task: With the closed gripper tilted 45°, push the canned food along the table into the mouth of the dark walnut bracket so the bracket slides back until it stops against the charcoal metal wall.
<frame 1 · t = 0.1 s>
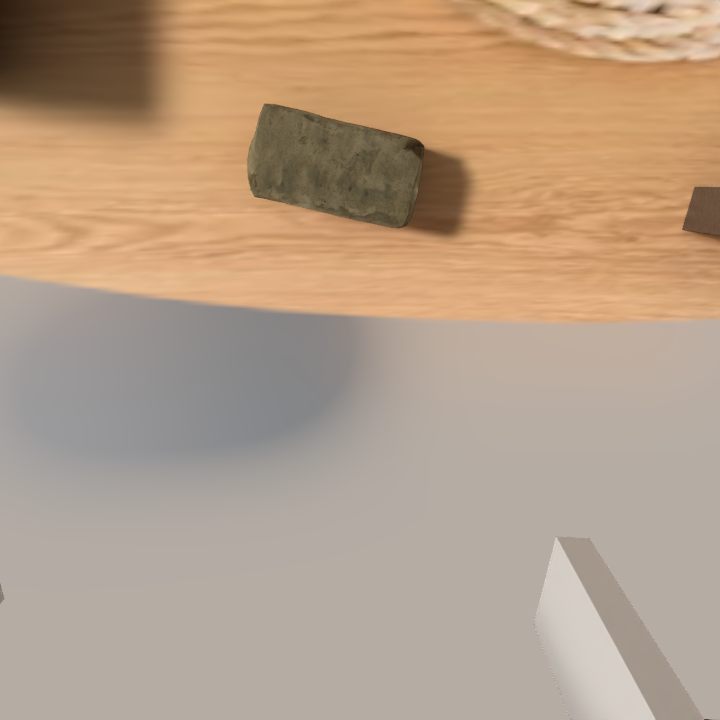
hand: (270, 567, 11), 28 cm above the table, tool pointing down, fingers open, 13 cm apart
stone block: (337, 170, 34), on the table
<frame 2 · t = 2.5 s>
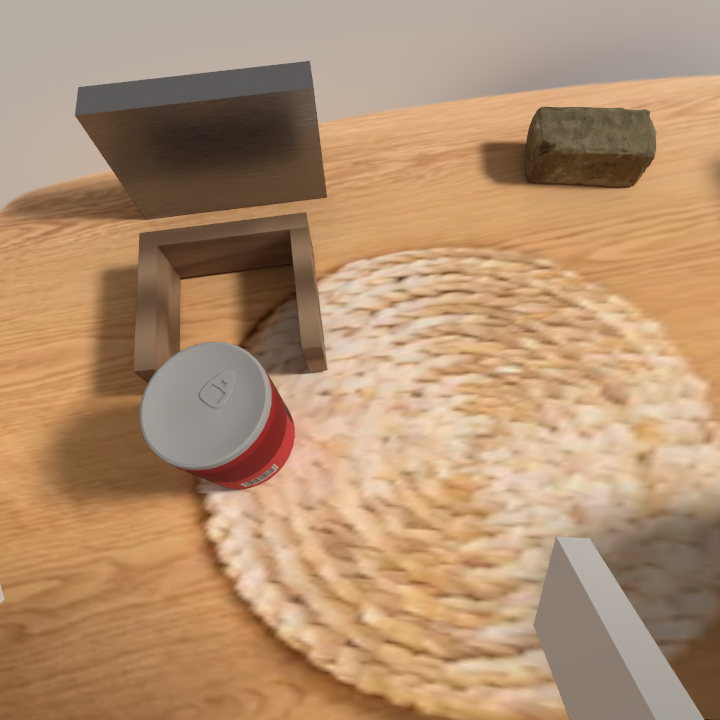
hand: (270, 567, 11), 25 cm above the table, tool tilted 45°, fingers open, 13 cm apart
canned food: (249, 440, 38), on the table
walnut bracket: (234, 302, 39), point 3 cm above the table, slide at 0.0 cm
backstop wall: (236, 196, 47), on the table
stone block: (577, 168, 48), on the table
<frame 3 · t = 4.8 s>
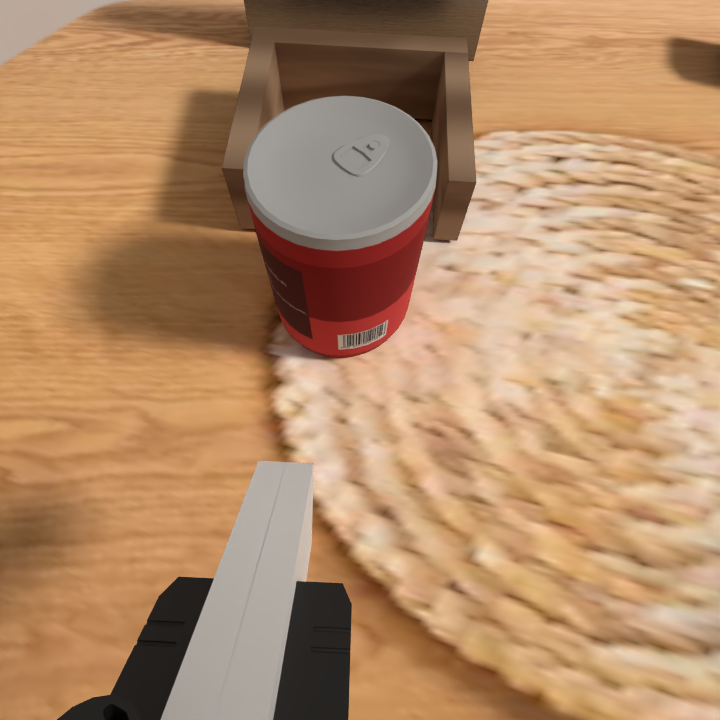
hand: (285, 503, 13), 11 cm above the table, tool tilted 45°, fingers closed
canned food: (343, 305, 29), on the table
walnut bracket: (354, 132, 30), point 3 cm above the table, slide at 0.0 cm
backstop wall: (363, 42, 39), on the table
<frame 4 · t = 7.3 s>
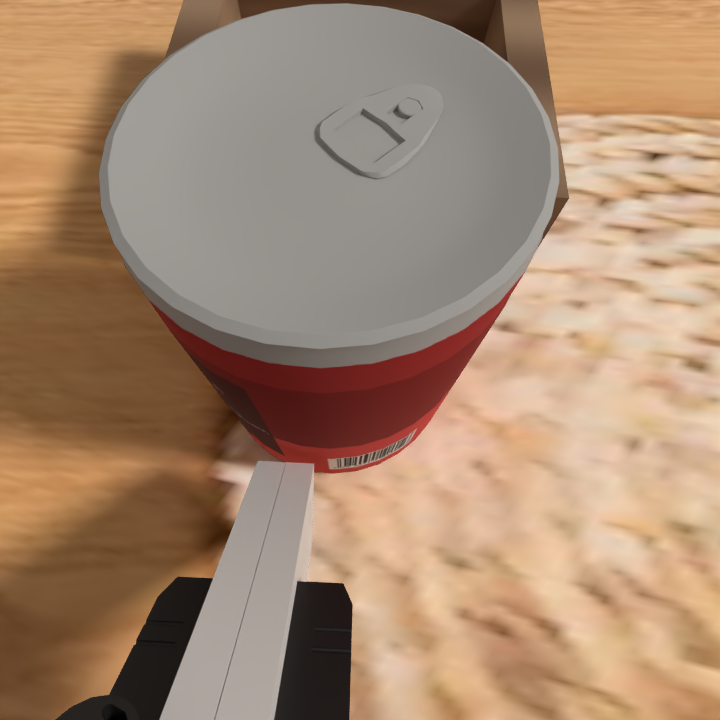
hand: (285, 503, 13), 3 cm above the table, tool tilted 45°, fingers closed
canned food: (339, 376, 18), on the table, touching gripper
walnut bracket: (358, 113, 20), point 3 cm above the table, slide at 0.0 cm
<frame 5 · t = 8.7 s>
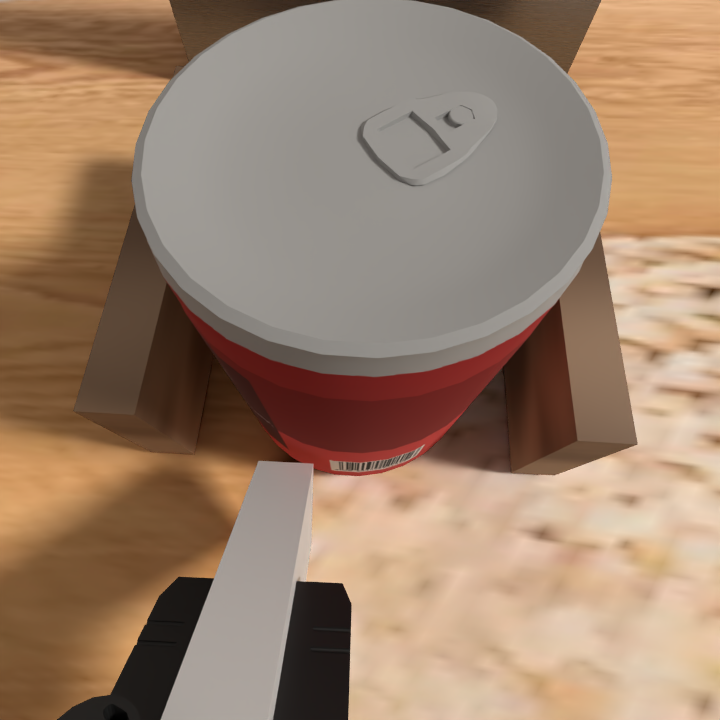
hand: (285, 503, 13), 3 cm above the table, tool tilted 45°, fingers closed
canned food: (358, 378, 18), on the table, touching gripper
walnut bracket: (364, 270, 16), point 3 cm above the table, slide at 0.0 cm
backstop wall: (375, 74, 24), on the table
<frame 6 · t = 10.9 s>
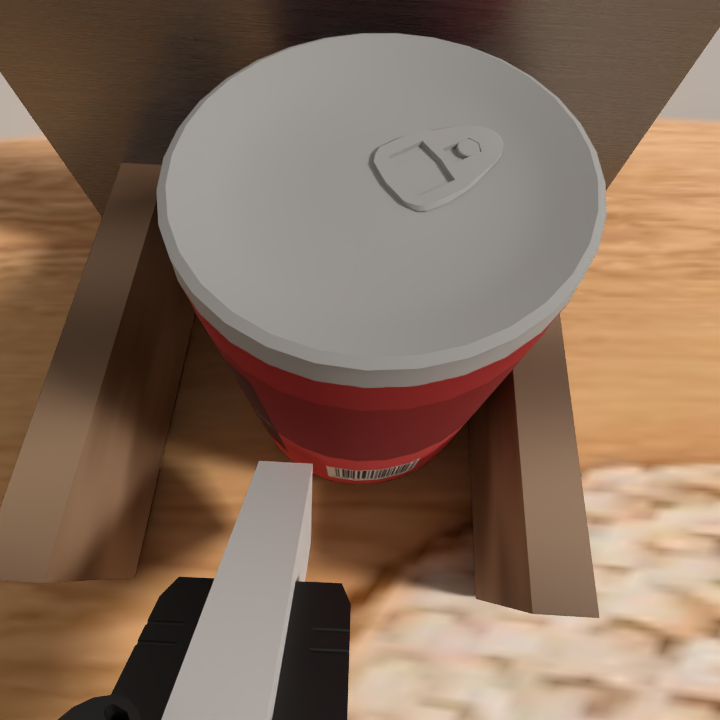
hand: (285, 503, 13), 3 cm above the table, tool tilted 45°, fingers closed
canned food: (363, 388, 18), on the table, touching gripper, walnut bracket
walnut bracket: (319, 379, 15), point 3 cm above the table, slide at 6.0 cm, touching backstop wall, canned food
backstop wall: (338, 240, 21), on the table
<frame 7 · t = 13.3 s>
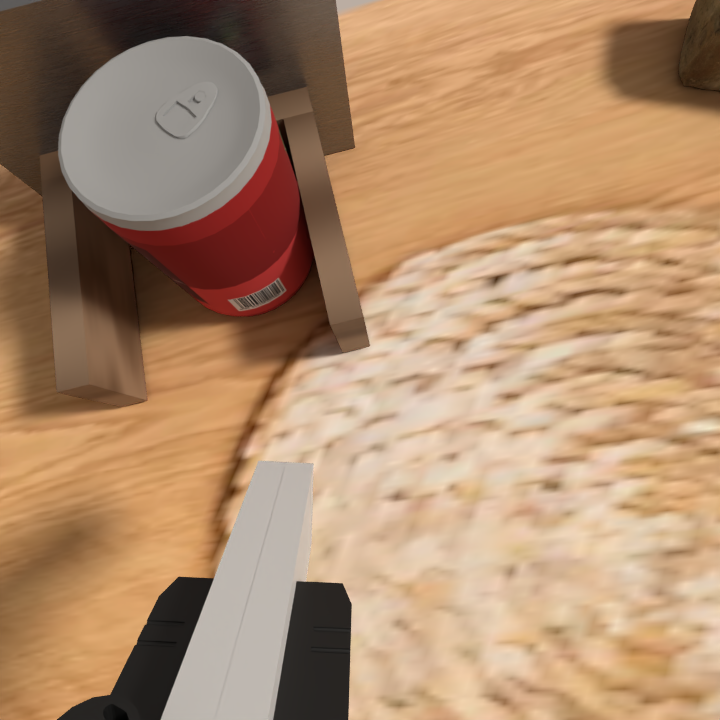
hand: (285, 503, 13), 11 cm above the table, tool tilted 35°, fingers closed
canned food: (253, 259, 28), on the table
walnut bracket: (210, 253, 24), point 3 cm above the table, slide at 6.0 cm, touching backstop wall
backstop wall: (209, 163, 29), on the table
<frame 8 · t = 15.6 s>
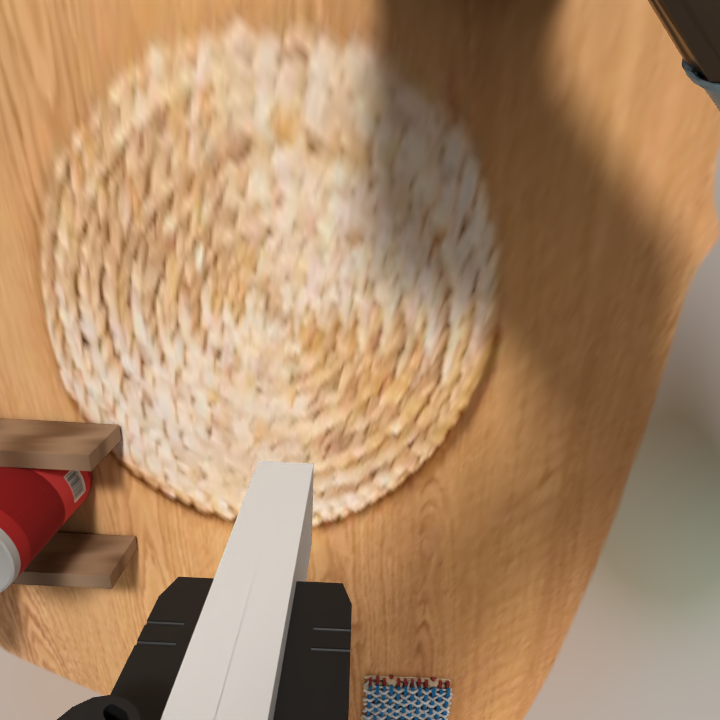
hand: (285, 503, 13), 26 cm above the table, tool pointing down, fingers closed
canned food: (54, 469, 44), on the table
walnut bracket: (45, 503, 42), point 3 cm above the table, slide at 6.0 cm, touching backstop wall
woven mat: (404, 698, 56), on the table
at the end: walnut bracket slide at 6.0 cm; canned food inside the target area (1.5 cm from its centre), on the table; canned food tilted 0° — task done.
